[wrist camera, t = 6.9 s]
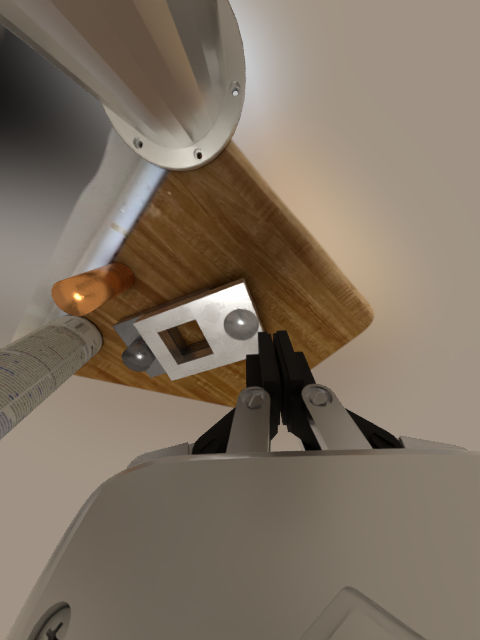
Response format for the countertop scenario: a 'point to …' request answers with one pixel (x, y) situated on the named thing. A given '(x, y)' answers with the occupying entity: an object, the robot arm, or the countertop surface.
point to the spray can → (42, 365)
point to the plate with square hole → (205, 329)
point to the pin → (92, 288)
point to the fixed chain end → (138, 350)
